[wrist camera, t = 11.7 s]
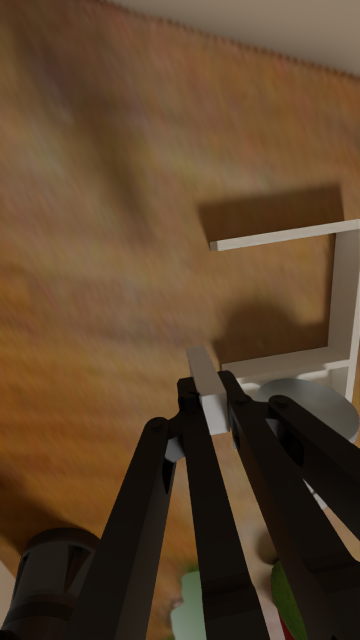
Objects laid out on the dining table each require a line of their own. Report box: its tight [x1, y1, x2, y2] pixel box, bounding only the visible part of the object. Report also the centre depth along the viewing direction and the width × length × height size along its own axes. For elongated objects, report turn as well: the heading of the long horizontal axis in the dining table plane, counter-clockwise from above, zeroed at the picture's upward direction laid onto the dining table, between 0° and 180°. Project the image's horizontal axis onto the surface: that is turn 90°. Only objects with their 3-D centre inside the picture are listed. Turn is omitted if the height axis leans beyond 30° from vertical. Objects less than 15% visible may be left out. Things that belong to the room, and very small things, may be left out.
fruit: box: [271, 559, 308, 640], centre depth 42 cm, size 8×8×12 cm
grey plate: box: [254, 379, 360, 443], centre depth 27 cm, size 11×1×11 cm, turn 98°
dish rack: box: [210, 219, 360, 403], centre depth 28 cm, size 17×25×4 cm
